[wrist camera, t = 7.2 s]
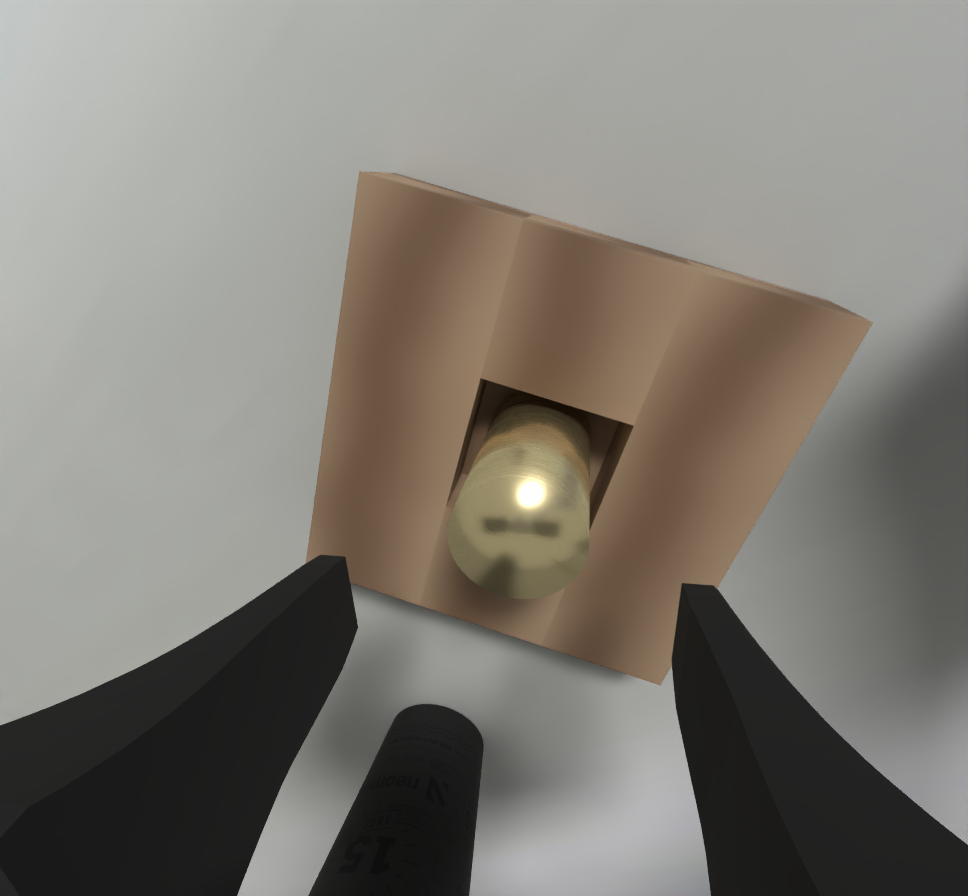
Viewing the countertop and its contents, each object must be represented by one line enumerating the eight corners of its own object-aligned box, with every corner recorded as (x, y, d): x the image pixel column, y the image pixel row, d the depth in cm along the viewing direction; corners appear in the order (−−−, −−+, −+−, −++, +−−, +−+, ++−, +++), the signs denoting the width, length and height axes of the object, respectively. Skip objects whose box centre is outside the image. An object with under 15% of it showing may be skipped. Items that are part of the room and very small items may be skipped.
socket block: (829, 300, 17) (872, 322, 14) (652, 628, 23) (660, 685, 21) (394, 173, 18) (359, 170, 15) (337, 525, 24) (305, 567, 21)
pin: (587, 381, 19) (583, 474, 13) (593, 473, 20) (593, 599, 14) (486, 389, 20) (436, 481, 13) (498, 477, 21) (459, 599, 15)
